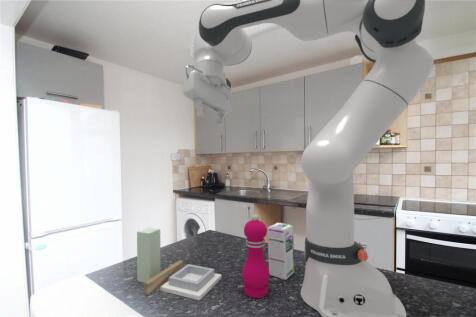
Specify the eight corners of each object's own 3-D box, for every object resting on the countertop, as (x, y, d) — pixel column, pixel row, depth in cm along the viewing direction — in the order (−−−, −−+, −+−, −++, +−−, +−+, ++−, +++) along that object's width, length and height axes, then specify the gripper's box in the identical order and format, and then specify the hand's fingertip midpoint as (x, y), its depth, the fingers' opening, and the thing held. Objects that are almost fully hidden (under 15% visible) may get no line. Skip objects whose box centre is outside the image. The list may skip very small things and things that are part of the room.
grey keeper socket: (221, 278, 70) (221, 267, 70) (199, 300, 59) (199, 288, 59) (186, 271, 75) (186, 261, 75) (160, 290, 64) (160, 279, 64)
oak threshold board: (183, 270, 75) (183, 260, 75) (148, 295, 61) (148, 283, 61) (179, 269, 76) (179, 260, 76) (143, 294, 62) (143, 282, 62)
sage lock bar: (160, 276, 72) (160, 229, 72) (149, 283, 67) (149, 233, 67) (148, 273, 73) (148, 227, 73) (137, 280, 69) (136, 231, 69)
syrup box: (286, 280, 68) (285, 229, 68) (268, 274, 72) (267, 225, 72) (294, 272, 73) (294, 224, 73) (277, 267, 77) (276, 221, 77)
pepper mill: (268, 300, 59) (267, 218, 59) (239, 297, 60) (238, 217, 60) (270, 285, 66) (270, 211, 66) (244, 283, 67) (243, 211, 67)
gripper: (195, 57, 63) (196, 107, 61) (235, 87, 81) (237, 126, 78) (177, 65, 66) (178, 113, 64) (219, 92, 84) (221, 130, 81)
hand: (211, 120), depth 71 cm, fingers open, 8 cm apart
